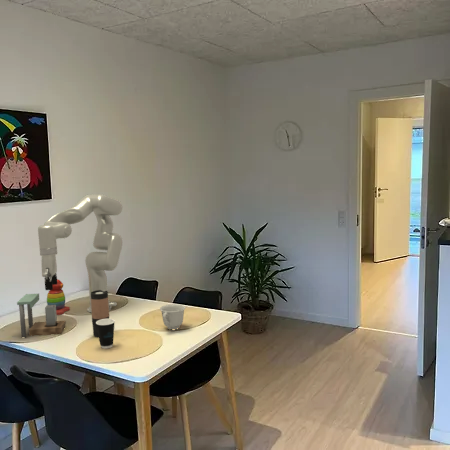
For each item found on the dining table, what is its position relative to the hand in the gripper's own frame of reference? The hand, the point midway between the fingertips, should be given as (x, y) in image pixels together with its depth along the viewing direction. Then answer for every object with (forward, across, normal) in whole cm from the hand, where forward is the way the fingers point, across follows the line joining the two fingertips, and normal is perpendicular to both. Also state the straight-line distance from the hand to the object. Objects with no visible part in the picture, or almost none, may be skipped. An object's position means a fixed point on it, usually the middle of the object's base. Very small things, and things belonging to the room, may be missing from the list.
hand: (51, 287), depth 219 cm
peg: (+21, +2, -1) cm, 21 cm away
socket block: (+21, +2, -3) cm, 21 cm away
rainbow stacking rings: (+21, -29, -5) cm, 36 cm away
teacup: (+21, +11, +55) cm, 60 cm away
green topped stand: (+20, +2, -10) cm, 23 cm away
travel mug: (+21, +12, +23) cm, 33 cm away
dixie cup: (+21, +27, +27) cm, 43 cm away
